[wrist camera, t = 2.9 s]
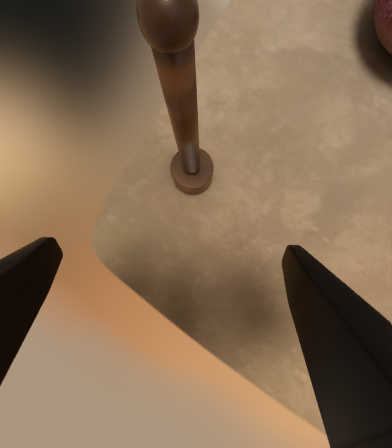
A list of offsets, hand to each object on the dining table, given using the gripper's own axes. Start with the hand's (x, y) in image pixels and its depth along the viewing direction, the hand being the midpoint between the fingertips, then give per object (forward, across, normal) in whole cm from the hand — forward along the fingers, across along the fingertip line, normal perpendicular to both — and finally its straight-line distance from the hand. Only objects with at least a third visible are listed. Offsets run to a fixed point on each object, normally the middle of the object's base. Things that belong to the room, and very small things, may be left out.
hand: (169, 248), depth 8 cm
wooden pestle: (+15, 0, +4) cm, 15 cm away
